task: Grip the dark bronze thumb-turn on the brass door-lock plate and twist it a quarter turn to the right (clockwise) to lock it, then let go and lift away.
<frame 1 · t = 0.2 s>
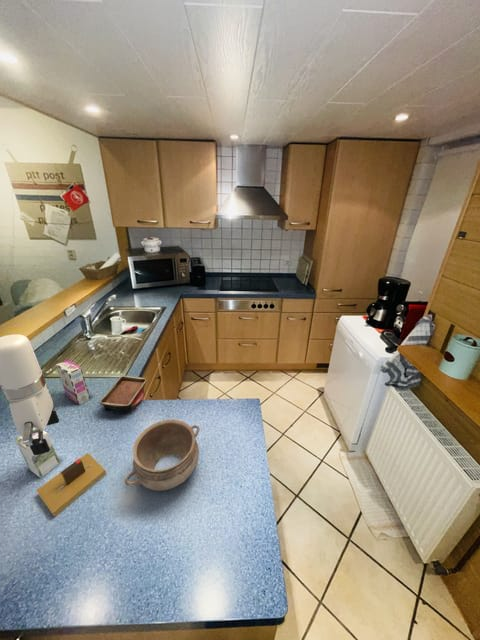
hand: (47, 437, 66), 19 cm above the worktop, tool pointing down, fingers open, 9 cm apart
lock plate: (74, 486, 73), on the worktop
lock knob: (73, 471, 72), point 5 cm above the worktop, hinge at 0.0°
cooking pot: (169, 470, 78), on the worktop
syrup box: (46, 468, 78), on the worktop
candy bar box: (79, 398, 106), on the worktop
baking dish: (126, 403, 104), on the worktop
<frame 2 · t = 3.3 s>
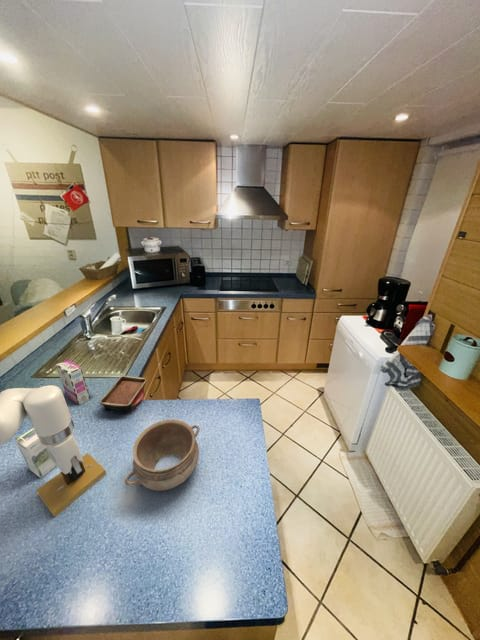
hand: (75, 475, 72), 4 cm above the worktop, tool pointing down, fingers closed on lock knob
lock knob: (73, 471, 72), point 5 cm above the worktop, hinge at -0.1°, touching gripper
everything else where it was.
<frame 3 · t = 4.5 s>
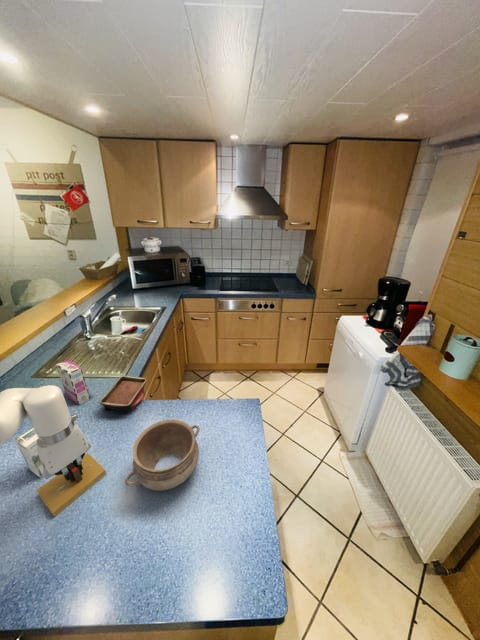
hand: (75, 475, 72), 4 cm above the worktop, tool pointing down, fingers closed on lock knob
lock knob: (73, 471, 72), point 5 cm above the worktop, hinge at -89.4°, touching gripper
everything else where it was.
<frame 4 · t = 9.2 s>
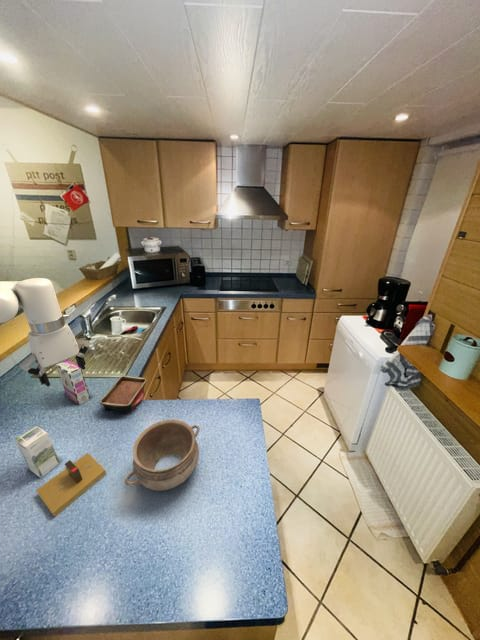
hand: (65, 375, 75), 28 cm above the worktop, tool pointing down, fingers open, 9 cm apart
lock knob: (73, 471, 72), point 5 cm above the worktop, hinge at -89.5°
everything else where it was.
at the end: lock knob at -90° (first picture: +0°) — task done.
